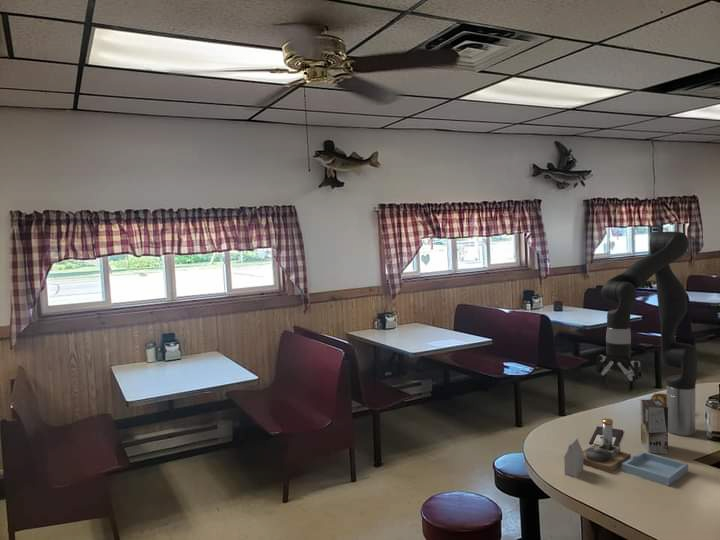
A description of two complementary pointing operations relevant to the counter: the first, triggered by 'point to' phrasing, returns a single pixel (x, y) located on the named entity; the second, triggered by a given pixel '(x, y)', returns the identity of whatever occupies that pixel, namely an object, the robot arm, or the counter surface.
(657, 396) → the pastry
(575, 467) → the grey house block
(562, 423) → the counter surface
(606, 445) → the lock pin
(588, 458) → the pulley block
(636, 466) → the tray
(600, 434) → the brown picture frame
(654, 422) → the coffee box
